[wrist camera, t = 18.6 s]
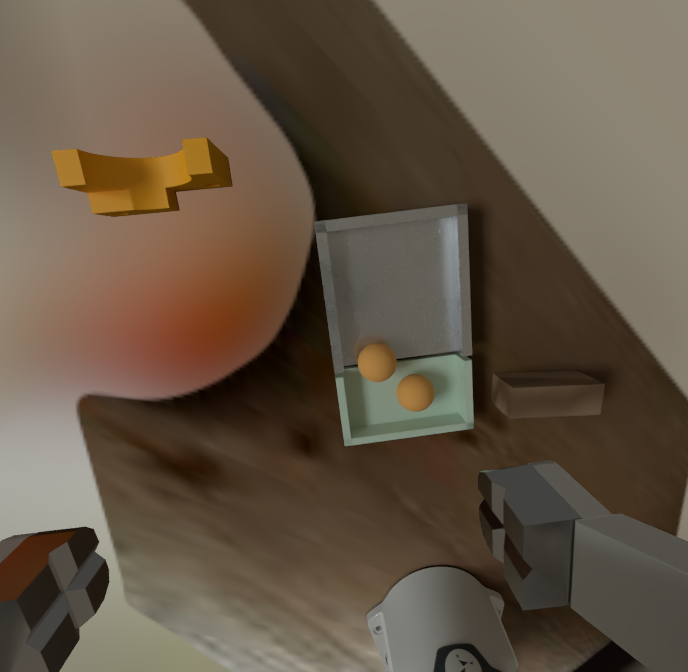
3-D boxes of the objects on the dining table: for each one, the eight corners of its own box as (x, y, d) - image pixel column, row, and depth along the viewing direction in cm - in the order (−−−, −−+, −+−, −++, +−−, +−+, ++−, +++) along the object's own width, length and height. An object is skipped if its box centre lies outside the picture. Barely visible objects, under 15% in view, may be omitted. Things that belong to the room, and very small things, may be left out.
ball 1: (391, 356, 39) (387, 390, 37) (357, 348, 39) (351, 382, 37) (403, 341, 35) (400, 378, 34) (365, 332, 35) (359, 369, 33)
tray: (463, 415, 42) (473, 428, 39) (343, 432, 41) (344, 446, 39) (460, 351, 40) (471, 360, 37) (334, 368, 39) (335, 378, 37)
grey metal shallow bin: (460, 346, 40) (472, 355, 37) (334, 363, 39) (334, 373, 36) (454, 206, 36) (467, 203, 33) (315, 224, 36) (314, 221, 33)
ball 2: (383, 400, 38) (401, 375, 36) (400, 385, 41) (417, 361, 39) (413, 425, 37) (433, 401, 35) (427, 408, 40) (446, 385, 38)
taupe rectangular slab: (571, 397, 42) (600, 414, 38) (490, 400, 42) (509, 418, 37) (575, 369, 41) (605, 384, 37) (492, 373, 41) (512, 388, 37)
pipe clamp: (113, 216, 35) (67, 209, 28) (102, 169, 34) (51, 151, 27) (235, 205, 35) (216, 195, 29) (228, 157, 34) (206, 137, 28)
